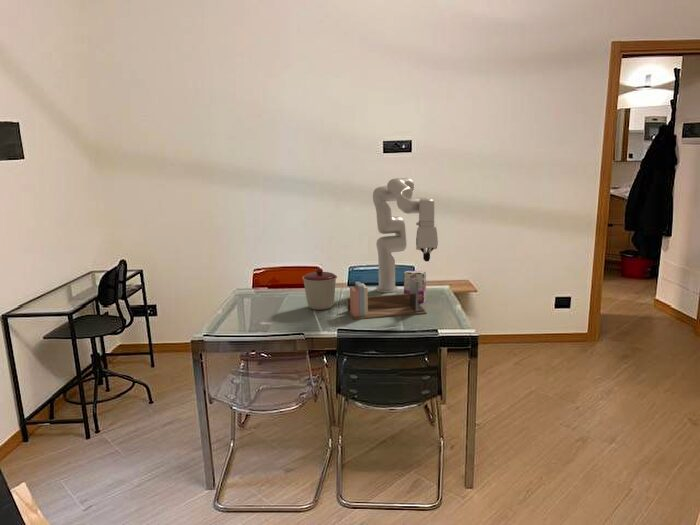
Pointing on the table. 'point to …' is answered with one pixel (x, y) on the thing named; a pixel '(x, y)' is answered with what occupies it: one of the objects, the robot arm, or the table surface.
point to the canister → (320, 289)
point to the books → (359, 299)
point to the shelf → (387, 306)
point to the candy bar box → (421, 280)
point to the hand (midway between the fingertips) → (426, 260)
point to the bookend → (414, 296)
